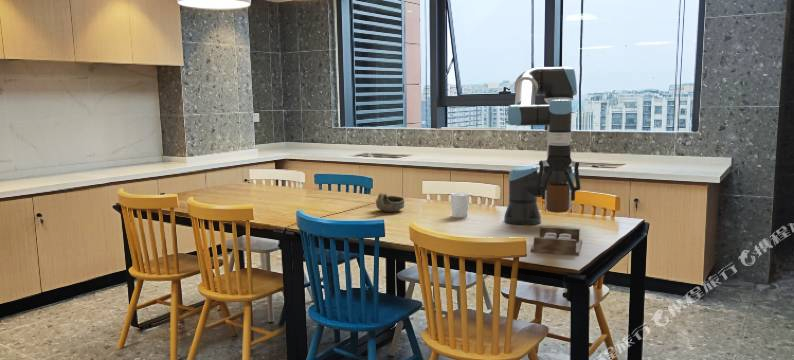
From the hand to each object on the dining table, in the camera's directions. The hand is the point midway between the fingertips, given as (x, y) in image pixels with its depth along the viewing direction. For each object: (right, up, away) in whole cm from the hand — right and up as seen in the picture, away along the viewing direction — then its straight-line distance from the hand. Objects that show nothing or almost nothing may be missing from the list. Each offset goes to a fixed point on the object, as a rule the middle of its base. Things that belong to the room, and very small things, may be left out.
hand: (558, 209), depth 223 cm
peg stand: (0, -14, +2) cm, 14 cm away
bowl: (-61, -5, +70) cm, 92 cm away
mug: (0, 0, 0) cm, 1 cm away
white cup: (-29, -6, +57) cm, 65 cm away
